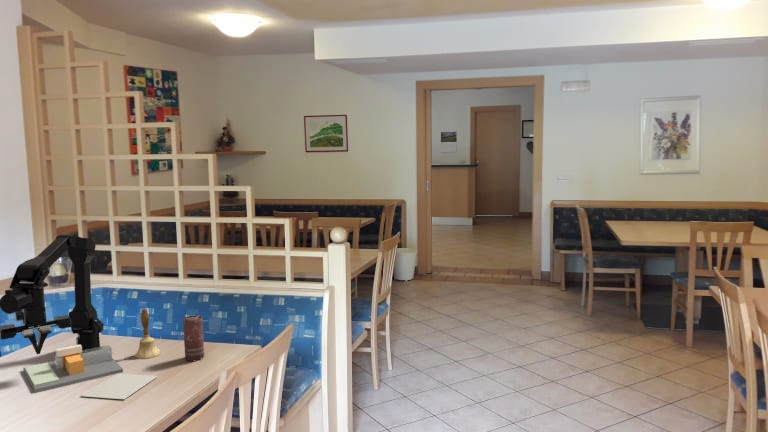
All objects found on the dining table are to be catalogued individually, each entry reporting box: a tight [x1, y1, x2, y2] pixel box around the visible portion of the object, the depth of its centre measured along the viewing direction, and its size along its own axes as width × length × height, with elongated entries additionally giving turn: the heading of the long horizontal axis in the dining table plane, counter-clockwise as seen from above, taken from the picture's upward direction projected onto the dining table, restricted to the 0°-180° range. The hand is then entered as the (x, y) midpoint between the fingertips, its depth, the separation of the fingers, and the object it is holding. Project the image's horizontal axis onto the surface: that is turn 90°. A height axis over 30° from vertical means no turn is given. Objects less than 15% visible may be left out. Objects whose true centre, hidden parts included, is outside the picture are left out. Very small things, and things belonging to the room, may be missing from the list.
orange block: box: [61, 353, 84, 375], centre depth 183 cm, size 4×14×4 cm, turn 39°
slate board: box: [22, 357, 124, 393], centre depth 183 cm, size 24×22×1 cm
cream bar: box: [55, 344, 82, 357], centre depth 182 cm, size 7×2×2 cm, turn 129°
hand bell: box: [134, 308, 162, 360], centre depth 196 cm, size 8×8×16 cm
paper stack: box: [80, 373, 159, 400], centre depth 165 cm, size 23×25×1 cm
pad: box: [25, 362, 59, 386], centre depth 178 cm, size 6×18×1 cm, turn 40°
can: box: [182, 315, 205, 361], centre depth 193 cm, size 6×6×14 cm
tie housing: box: [54, 344, 113, 372], centre depth 185 cm, size 16×3×4 cm, turn 129°
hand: (38, 353), depth 177 cm, fingers closed
